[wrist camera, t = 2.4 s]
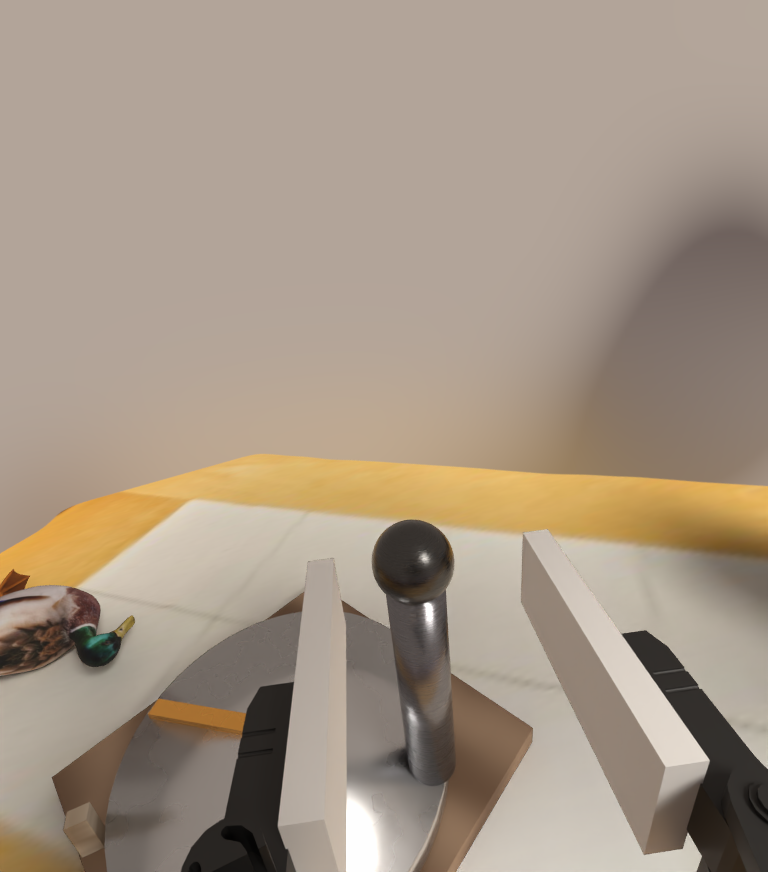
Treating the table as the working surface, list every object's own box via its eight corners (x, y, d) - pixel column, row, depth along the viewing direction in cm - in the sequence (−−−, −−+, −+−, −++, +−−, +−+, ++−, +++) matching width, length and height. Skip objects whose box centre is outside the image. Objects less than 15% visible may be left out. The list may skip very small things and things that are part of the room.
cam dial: (21, 924, 24) (-204, 676, 17) (232, 614, 44) (174, 432, 36) (447, 1071, 19) (412, 800, 11) (473, 640, 38) (466, 431, 30)
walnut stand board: (318, 594, 48) (311, 560, 46) (532, 741, 32) (534, 699, 30) (60, 790, 32) (34, 750, 30) (229, 1258, 17) (195, 1235, 15)
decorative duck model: (140, 598, 41) (-82, 745, 29) (157, 657, 44) (-36, 810, 32) (58, 541, 48) (-144, 640, 36) (79, 595, 51) (-102, 702, 40)
